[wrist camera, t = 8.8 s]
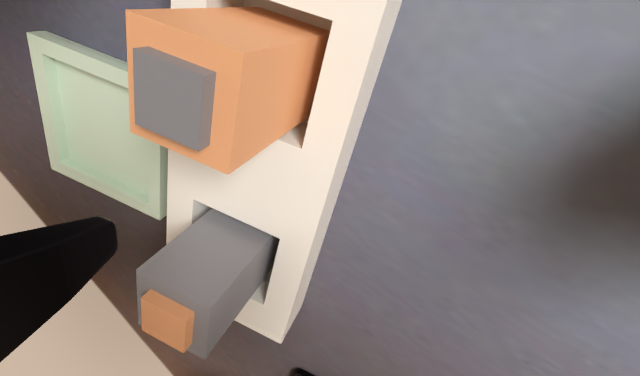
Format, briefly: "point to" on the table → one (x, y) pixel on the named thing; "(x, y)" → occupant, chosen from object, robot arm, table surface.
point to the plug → (220, 79)
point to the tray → (95, 124)
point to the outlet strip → (292, 156)
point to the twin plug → (202, 281)
